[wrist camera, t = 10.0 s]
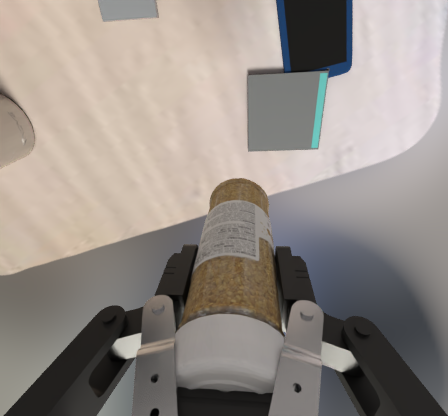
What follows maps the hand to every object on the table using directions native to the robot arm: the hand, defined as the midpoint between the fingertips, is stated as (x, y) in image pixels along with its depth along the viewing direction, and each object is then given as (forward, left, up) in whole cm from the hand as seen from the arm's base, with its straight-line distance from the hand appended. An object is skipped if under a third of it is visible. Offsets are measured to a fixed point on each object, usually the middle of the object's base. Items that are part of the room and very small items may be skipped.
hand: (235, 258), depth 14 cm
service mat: (+6, +3, -23) cm, 24 cm away
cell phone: (+8, +13, -24) cm, 28 cm away
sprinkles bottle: (0, 0, -6) cm, 6 cm away
